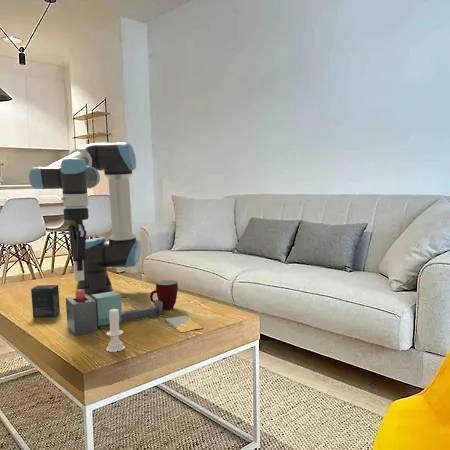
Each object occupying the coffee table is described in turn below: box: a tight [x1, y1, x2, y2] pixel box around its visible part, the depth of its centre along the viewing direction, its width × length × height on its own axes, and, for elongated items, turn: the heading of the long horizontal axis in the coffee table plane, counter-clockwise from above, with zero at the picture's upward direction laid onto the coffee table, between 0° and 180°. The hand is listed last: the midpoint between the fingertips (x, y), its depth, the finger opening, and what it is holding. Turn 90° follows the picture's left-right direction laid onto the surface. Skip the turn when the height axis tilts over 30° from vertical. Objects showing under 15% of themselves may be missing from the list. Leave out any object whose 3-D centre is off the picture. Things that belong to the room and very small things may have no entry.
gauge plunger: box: [75, 289, 86, 302], centre depth 143 cm, size 3×3×4 cm
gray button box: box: [65, 294, 98, 336], centre depth 143 cm, size 10×7×10 cm
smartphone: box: [164, 314, 192, 328], centre depth 147 cm, size 8×1×15 cm
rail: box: [97, 299, 164, 330], centre depth 152 cm, size 6×24×5 cm, turn 123°
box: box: [30, 284, 61, 318], centre depth 160 cm, size 8×6×11 cm
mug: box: [149, 279, 179, 311], centre depth 164 cm, size 10×8×10 cm
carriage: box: [91, 290, 123, 326], centre depth 148 cm, size 6×8×9 cm
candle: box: [105, 309, 126, 353], centre depth 126 cm, size 5×5×12 cm
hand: (79, 280), depth 142 cm, fingers closed
